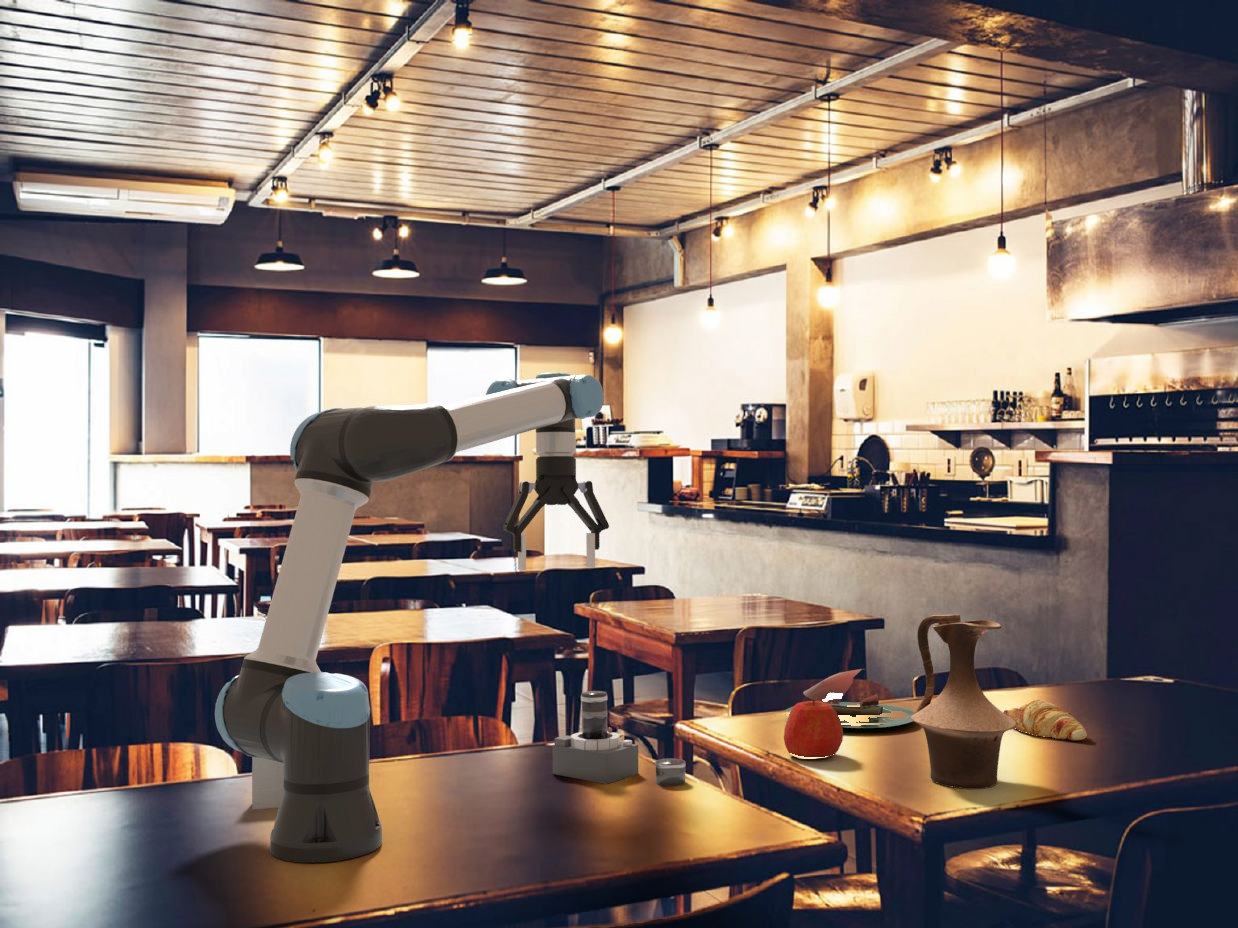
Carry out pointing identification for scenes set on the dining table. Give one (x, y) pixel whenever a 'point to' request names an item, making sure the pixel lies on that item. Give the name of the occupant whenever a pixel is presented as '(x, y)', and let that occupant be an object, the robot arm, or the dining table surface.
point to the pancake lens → (670, 772)
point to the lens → (594, 715)
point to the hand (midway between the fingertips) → (556, 568)
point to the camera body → (595, 758)
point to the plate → (835, 690)
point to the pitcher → (960, 709)
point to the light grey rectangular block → (266, 783)
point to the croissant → (1046, 721)
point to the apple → (813, 730)
